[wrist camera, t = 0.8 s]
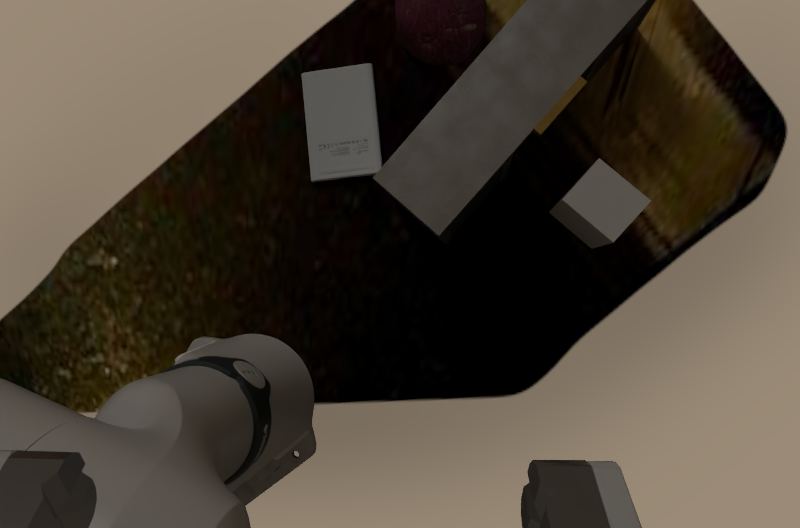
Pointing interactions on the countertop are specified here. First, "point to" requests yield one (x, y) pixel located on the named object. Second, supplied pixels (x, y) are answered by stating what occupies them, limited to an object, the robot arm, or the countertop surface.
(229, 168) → the countertop surface
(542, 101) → the miniature grey desk
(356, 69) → the external hard drive
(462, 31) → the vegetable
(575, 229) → the tall grey upright block
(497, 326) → the countertop surface
